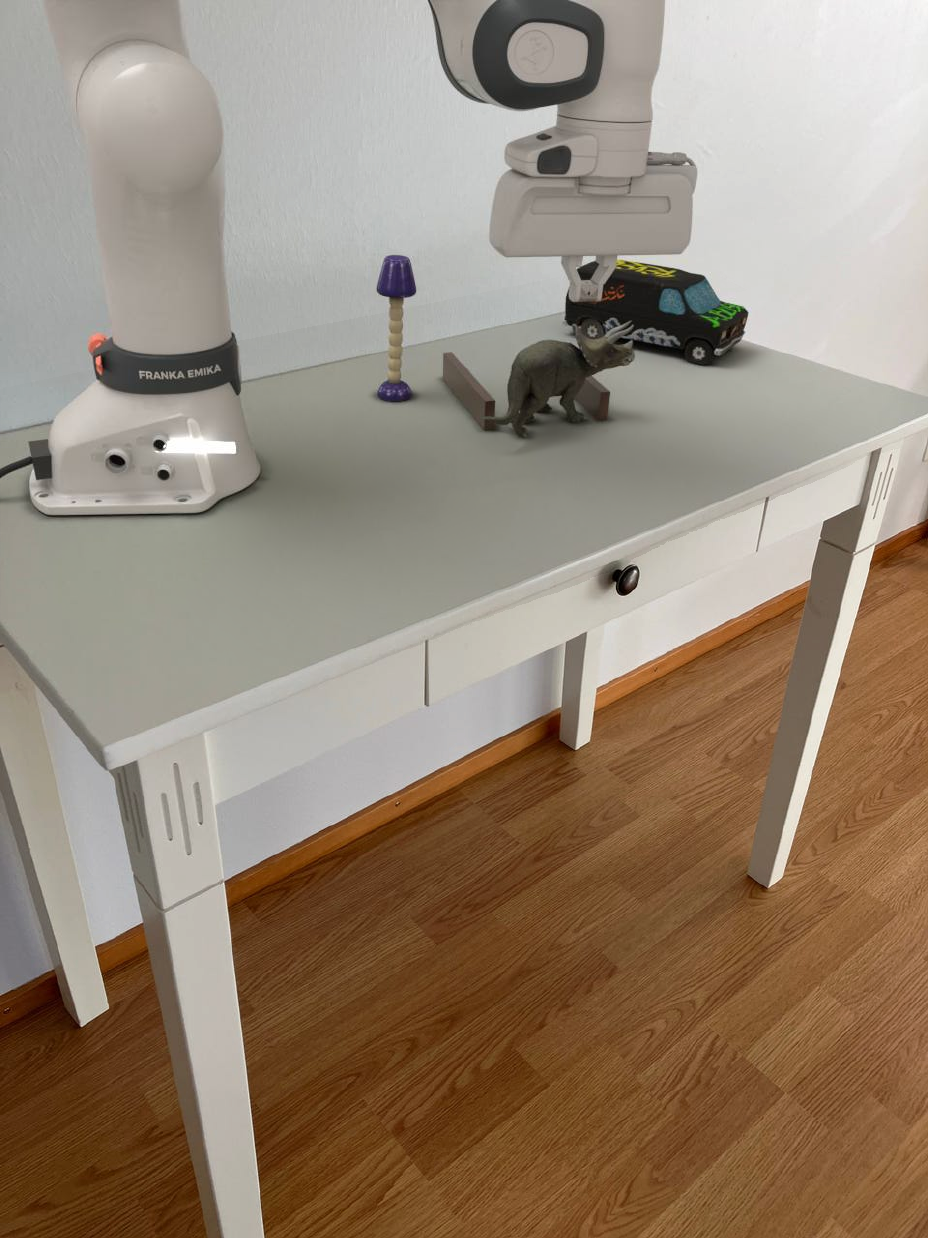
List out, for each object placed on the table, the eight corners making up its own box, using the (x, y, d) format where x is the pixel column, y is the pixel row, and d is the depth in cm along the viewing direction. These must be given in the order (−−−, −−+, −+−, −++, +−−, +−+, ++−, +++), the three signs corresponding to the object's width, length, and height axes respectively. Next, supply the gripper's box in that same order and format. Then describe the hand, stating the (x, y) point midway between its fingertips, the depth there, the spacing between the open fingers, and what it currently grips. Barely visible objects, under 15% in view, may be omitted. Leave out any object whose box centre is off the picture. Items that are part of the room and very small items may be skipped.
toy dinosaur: (487, 455, 112) (492, 354, 106) (442, 430, 117) (444, 333, 111) (632, 416, 123) (644, 322, 117) (585, 395, 129) (594, 305, 123)
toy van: (718, 369, 139) (731, 294, 133) (558, 335, 150) (563, 265, 145) (746, 350, 146) (758, 278, 141) (591, 319, 158) (597, 252, 152)
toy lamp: (419, 391, 128) (420, 253, 119) (411, 404, 124) (411, 262, 115) (382, 388, 129) (380, 250, 120) (372, 401, 125) (370, 259, 116)
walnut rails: (484, 430, 118) (485, 401, 116) (442, 379, 132) (443, 352, 130) (607, 419, 122) (610, 391, 120) (554, 371, 136) (556, 345, 134)
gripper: (685, 147, 101) (664, 289, 109) (488, 144, 96) (480, 294, 103) (715, 157, 96) (691, 305, 104) (510, 155, 91) (500, 311, 98)
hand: (584, 300), depth 103 cm, fingers closed
